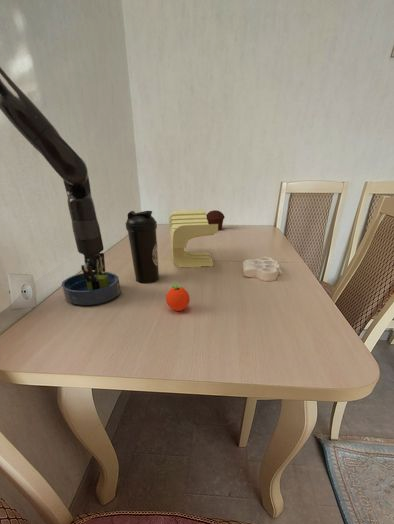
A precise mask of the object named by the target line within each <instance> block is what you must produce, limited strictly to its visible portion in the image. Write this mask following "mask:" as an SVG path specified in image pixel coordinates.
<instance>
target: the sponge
mask: <svg viewBox="0 0 394 524" xmlns="http://www.w3.org/2000/svg"><path fill="white" fill-rule="evenodd" d="M94 276H95V275H94ZM98 281H99V285H100V288H104V287H107V286H109V285H110V282H109V277H108V275H98ZM86 283H87V287H88V291H89V290H93V288H92V284H91V282H87V280H86Z"/></svg>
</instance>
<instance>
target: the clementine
mask: <svg viewBox="0 0 394 524" xmlns="http://www.w3.org/2000/svg"><path fill="white" fill-rule="evenodd" d="M190 301H191V299H190V294H189V292H188V291H187V289H185V288H184V287H182V286H178V285H173V286H172V288H170V289H169V290H168V292H167V293H166V296H165V302H166V304H167V307H169V308H170V309H171V310H173V311H175V312H180V311H183V310H185V309H186V308H187V307H188V306H189V304H190Z"/></svg>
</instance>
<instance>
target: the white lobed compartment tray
mask: <svg viewBox="0 0 394 524" xmlns="http://www.w3.org/2000/svg"><path fill="white" fill-rule="evenodd" d="M280 267H282V265H280V264H279V262H278V261H277V260H274V258H273V257H269V256H260V257H258V258H255V259H254V258H253V259H246V260H244V261H242V271H243V275H244V276H245V277H247V278H253V279H254V278H256V279H259V280H260V281H263V282H274V281H276V280H277V278H278V277H279V274H281V273H283V272H284V271H283V270H282V269H280Z"/></svg>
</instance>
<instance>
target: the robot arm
mask: <svg viewBox="0 0 394 524" xmlns="http://www.w3.org/2000/svg"><path fill="white" fill-rule="evenodd" d="M0 111H1V112H2V113H3V115H4V116H5V117H6V119H8V121H9V122H10V123H11V124H12V126H13V127H14V128H15V129H16V130H17V131H18V132H19V133H20V134H21V136H22V137H24V138H25V140H26V141H27V142H28V143H29V144H30V145H32V147H33V148H34V149H35V150H36V152H38V153H39V154H41V156H42V157H43V158H44V159H45V160H46V161H47V163H48V164H49V165H50V166H51V168H52V169H53V170H54V172H56V173H57V175H59V177H60V178H61V179H62V181H63V185H64V188H65V189H64V190H65V193H66V196H67V207H68V211H69V216H70V220H71V227H72V232H73V236H74V241H75V244H76V249H77V252H78V253H79V254H81V255H83V257H84V264H81V267H80V268H81V271H82V273H84V275H85V278H86V280H87V282H91V284H92V288H93V290H96V289H100V285H99V281H98V275H104V272H106V263H105V253H104V252H103V251H104V243H103V238H102V233H101V232H102V231H101V227H100V223H99V221H98V220H99V219H98V216H97V211H96V206H95V203H94V198H93V195H92V190H91V183H90V177H89V169H88V166H87V163H86V161H84V159H83V158H82V157H80V155H79V154H77V152H76V151H75V150H74V149H73V148H72V147H71V146H70V145H69V143H68V142H66V140H64V139H63V137H62V136H61V135H60V133H59V131H58V130H57V128H55V126H54V125H53V124H52V122H51V121H50V119H48V118H47V117H46V116H45V115H44V113H43V112H42V111H41V110H40V109H39V108H38V107H37V106H36V104H35V103H34V102H33V101H32V100H31V99H30V98H29V97H28V96H27V95H26V93H24V92H23V91H22V89H21V88H20V87H19V86H18V85H17V84H16V82H14V80H12V79H11V77H10V76H8V75H7V73H6V72H5V70H3V69H2V67H1V66H0ZM94 274H95V276H94Z"/></svg>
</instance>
